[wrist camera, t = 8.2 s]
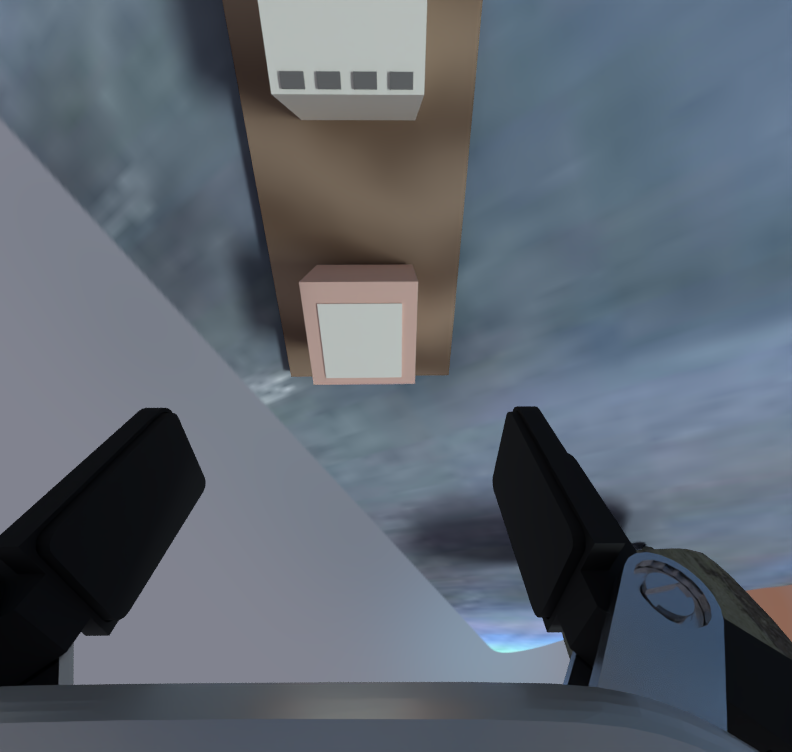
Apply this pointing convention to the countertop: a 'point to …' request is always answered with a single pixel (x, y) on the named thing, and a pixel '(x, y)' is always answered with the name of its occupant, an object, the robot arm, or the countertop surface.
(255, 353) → the countertop surface
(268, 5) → the white box with vents
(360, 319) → the stub
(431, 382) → the countertop surface
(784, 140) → the countertop surface
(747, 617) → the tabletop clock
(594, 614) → the robot arm
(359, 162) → the board
